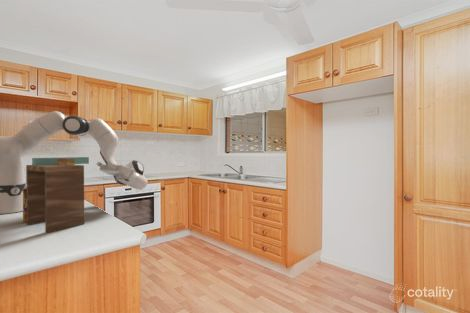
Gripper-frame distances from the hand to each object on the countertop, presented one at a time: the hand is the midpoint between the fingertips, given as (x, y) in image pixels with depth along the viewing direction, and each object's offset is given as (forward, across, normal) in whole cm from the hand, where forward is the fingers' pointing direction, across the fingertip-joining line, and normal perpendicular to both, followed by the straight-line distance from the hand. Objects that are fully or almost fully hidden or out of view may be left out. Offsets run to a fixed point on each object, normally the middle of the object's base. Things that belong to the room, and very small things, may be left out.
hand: (102, 163), depth 131 cm
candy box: (+10, -10, +35) cm, 38 cm away
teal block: (+17, 0, +9) cm, 19 cm away
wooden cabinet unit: (+8, +4, +34) cm, 36 cm away
